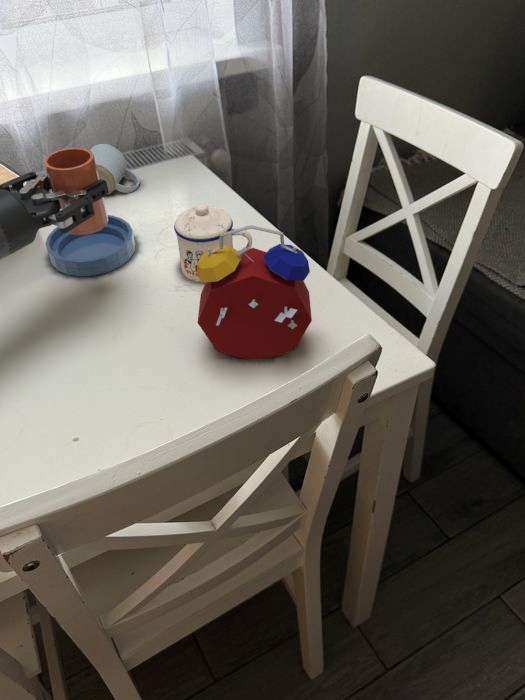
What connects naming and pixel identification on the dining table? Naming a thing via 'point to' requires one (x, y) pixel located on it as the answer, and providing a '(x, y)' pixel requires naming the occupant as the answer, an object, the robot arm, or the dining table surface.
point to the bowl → (92, 249)
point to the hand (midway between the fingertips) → (88, 178)
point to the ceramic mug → (113, 168)
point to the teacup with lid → (202, 235)
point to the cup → (76, 182)
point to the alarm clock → (254, 298)
